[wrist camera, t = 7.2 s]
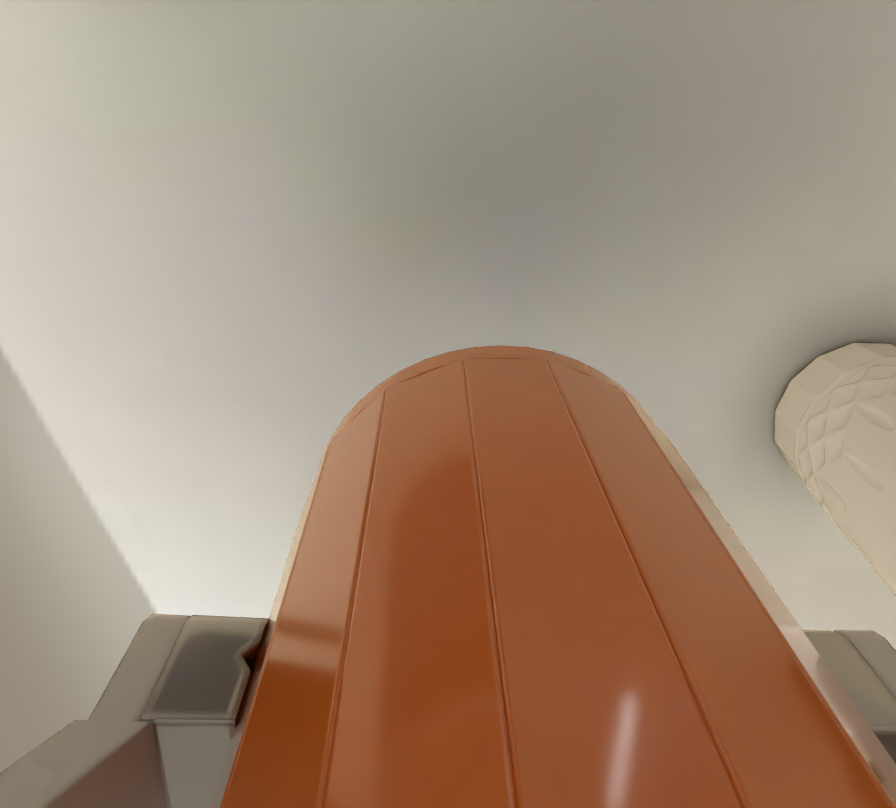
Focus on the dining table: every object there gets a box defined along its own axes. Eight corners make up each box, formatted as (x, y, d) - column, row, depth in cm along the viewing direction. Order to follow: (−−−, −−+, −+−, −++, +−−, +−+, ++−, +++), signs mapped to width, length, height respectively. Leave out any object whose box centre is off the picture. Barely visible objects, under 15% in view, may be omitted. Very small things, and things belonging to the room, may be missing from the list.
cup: (246, 427, 11) (-193, 1209, 3) (616, 284, 10) (1212, 883, 2) (401, 686, 13) (360, 1482, 6) (708, 588, 13) (1149, 1368, 5)
